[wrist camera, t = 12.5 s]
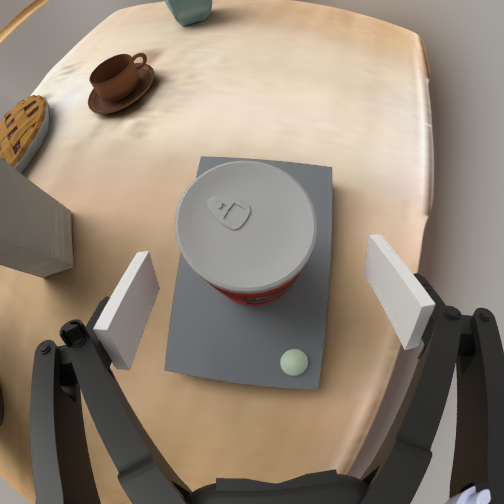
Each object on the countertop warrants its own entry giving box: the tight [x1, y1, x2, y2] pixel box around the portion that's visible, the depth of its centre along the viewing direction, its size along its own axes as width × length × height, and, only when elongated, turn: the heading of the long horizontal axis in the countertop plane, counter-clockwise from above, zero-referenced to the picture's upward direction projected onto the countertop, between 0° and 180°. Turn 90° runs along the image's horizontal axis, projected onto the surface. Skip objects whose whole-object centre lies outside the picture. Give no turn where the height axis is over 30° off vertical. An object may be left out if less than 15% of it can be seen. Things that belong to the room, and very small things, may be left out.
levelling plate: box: [165, 157, 332, 390], centre depth 27 cm, size 14×22×3 cm, turn 173°
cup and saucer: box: [88, 53, 154, 114], centre depth 34 cm, size 12×12×6 cm
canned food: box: [175, 161, 317, 306], centre depth 20 cm, size 8×8×11 cm
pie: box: [0, 95, 50, 173], centre depth 34 cm, size 22×22×5 cm
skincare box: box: [0, 157, 74, 278], centre depth 23 cm, size 8×7×16 cm
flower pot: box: [165, 0, 212, 26], centre depth 38 cm, size 9×9×9 cm
